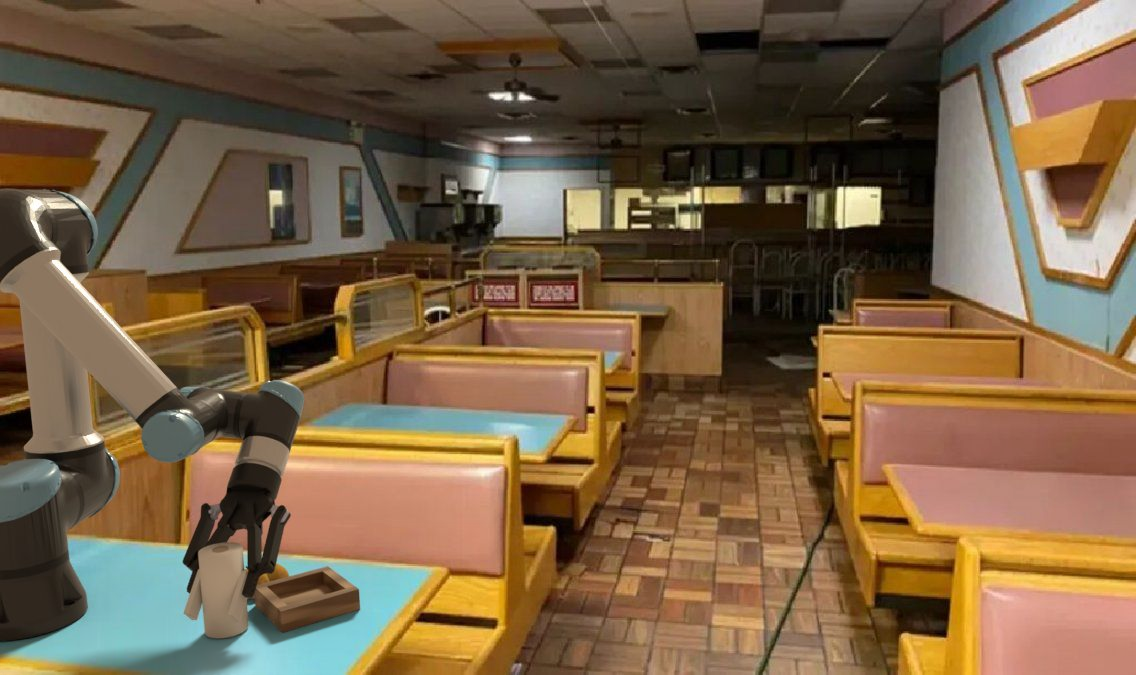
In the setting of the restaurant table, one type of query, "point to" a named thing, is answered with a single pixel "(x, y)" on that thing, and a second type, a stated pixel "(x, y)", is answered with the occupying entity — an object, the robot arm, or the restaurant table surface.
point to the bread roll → (272, 575)
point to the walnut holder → (306, 598)
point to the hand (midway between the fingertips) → (212, 617)
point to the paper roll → (221, 588)
